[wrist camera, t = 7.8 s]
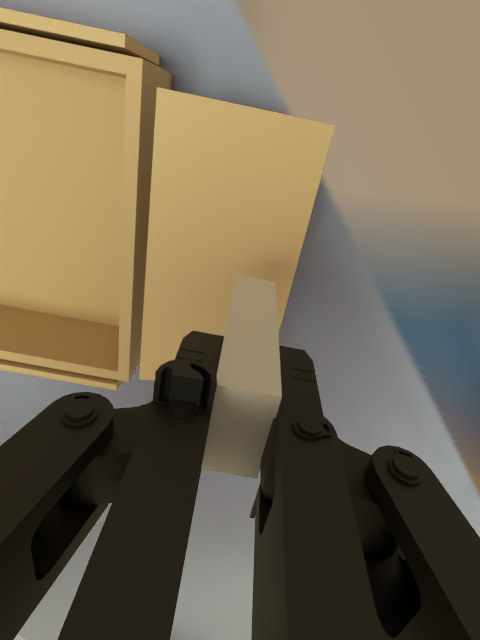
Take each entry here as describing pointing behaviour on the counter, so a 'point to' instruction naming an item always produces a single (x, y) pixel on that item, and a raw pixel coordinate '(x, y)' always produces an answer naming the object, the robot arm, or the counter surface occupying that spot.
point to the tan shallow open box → (74, 197)
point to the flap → (222, 212)
